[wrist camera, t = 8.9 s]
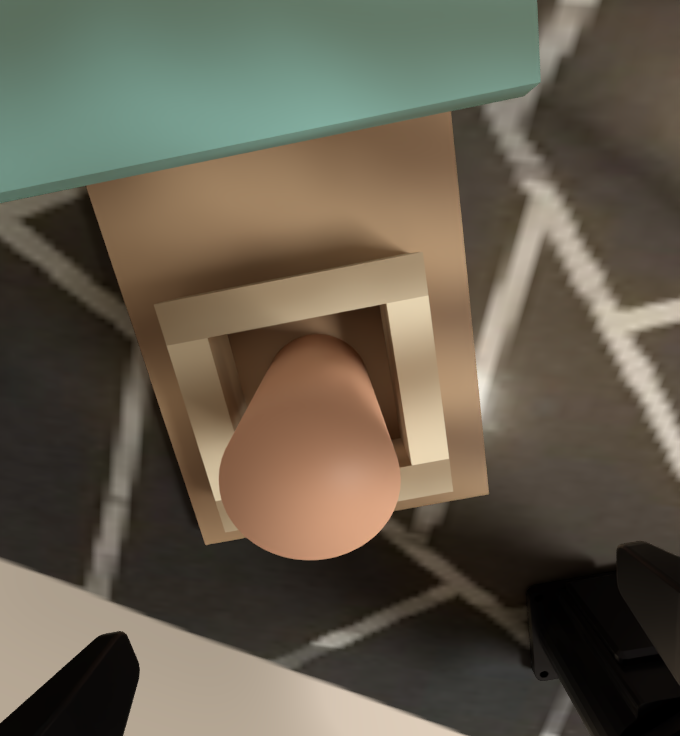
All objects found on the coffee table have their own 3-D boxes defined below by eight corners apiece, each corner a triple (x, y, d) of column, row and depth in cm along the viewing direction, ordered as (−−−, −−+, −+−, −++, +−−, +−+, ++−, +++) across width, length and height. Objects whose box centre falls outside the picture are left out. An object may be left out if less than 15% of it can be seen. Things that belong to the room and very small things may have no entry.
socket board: (481, 482, 20) (564, 604, 13) (211, 531, 20) (148, 675, 13) (432, 14, 15) (527, -214, 8) (68, 91, 15) (-163, -59, 8)
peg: (375, 420, 18) (412, 543, 10) (280, 437, 18) (244, 573, 10) (358, 325, 17) (385, 383, 9) (256, 344, 17) (195, 418, 9)
